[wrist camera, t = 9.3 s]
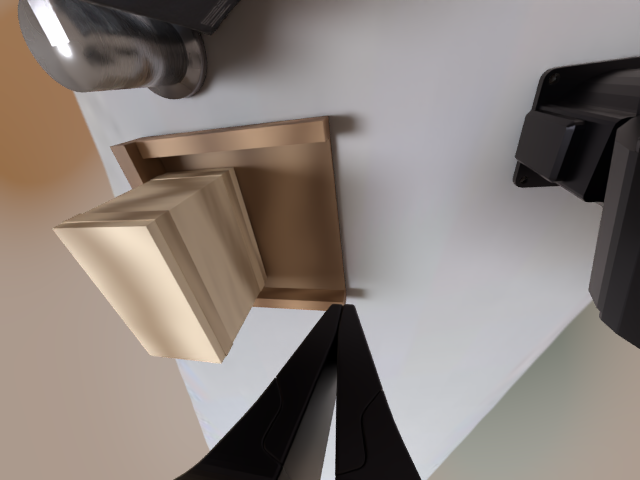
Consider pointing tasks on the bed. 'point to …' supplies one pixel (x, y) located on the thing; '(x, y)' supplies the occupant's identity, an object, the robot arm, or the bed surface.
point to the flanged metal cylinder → (112, 48)
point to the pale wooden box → (174, 261)
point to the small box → (176, 11)
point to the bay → (267, 198)
